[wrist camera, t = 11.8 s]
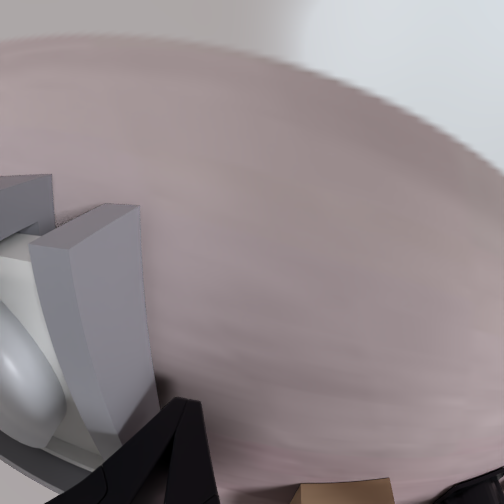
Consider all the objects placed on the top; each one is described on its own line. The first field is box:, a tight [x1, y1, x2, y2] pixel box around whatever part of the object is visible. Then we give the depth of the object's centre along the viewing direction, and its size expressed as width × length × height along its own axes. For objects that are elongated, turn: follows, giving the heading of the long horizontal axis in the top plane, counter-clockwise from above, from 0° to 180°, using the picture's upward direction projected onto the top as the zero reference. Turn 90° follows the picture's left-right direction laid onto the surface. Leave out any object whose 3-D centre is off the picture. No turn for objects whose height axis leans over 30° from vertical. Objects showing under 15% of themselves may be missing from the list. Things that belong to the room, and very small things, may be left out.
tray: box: [0, 203, 161, 472], centre depth 8 cm, size 12×12×3 cm
